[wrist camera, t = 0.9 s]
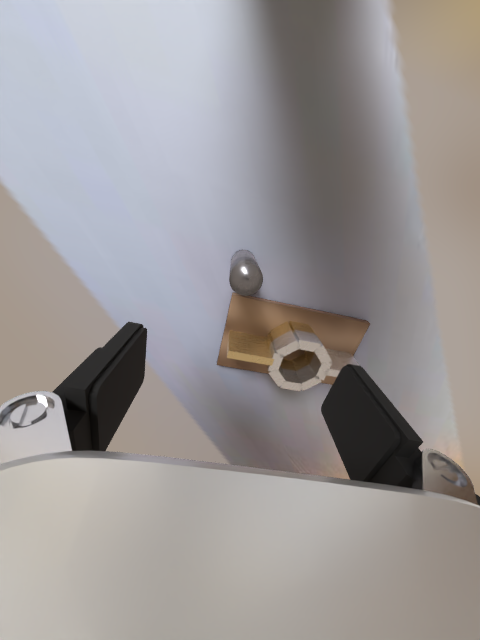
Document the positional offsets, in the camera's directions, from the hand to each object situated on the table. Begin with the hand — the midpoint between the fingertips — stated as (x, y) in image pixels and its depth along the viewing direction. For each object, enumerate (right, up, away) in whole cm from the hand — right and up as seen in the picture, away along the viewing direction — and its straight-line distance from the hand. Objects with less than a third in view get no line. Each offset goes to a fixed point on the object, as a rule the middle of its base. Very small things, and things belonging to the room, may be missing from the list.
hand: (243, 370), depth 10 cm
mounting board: (+7, -1, +22) cm, 23 cm away
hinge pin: (0, +9, +17) cm, 19 cm away
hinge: (+7, -1, +22) cm, 23 cm away
